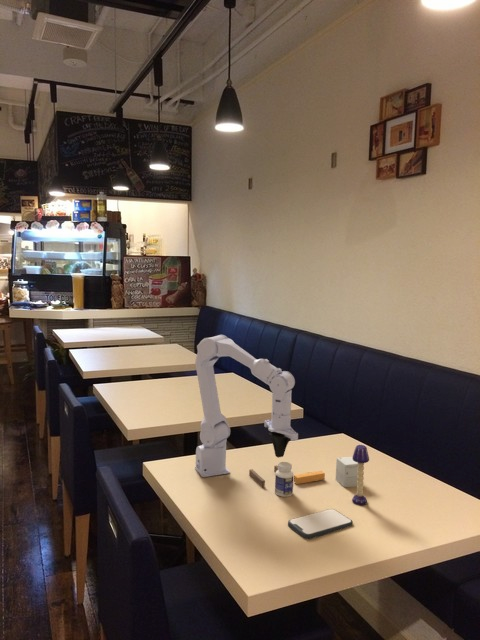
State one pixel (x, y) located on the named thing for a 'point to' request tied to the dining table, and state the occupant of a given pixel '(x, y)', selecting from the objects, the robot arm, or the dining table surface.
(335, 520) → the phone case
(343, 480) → the product box
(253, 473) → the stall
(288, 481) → the pill bottle
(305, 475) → the orange rectangular block
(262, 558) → the dining table surface
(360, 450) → the toy lamp
